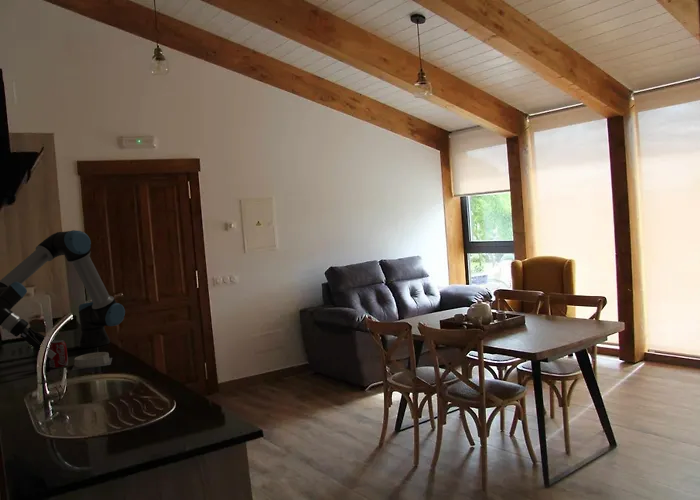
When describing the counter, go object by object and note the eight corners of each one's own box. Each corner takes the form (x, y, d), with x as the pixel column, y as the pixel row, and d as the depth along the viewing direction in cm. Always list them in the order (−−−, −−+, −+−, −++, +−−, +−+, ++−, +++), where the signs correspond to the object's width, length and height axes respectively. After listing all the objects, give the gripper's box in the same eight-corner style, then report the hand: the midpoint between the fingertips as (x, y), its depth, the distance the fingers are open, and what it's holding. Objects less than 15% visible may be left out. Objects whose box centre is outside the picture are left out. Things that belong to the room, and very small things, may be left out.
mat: (75, 363, 282) (75, 363, 282) (112, 358, 287) (112, 357, 287) (71, 371, 266) (71, 370, 266) (110, 365, 271) (110, 364, 271)
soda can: (71, 364, 280) (68, 338, 279) (63, 368, 273) (60, 342, 272) (57, 365, 281) (54, 339, 280) (48, 369, 274) (45, 343, 273)
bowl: (77, 363, 281) (76, 355, 281) (109, 358, 285) (109, 350, 285) (74, 369, 268) (73, 361, 267) (108, 364, 272) (107, 356, 272)
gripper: (15, 327, 281) (54, 355, 287) (2, 336, 258) (45, 365, 263) (26, 314, 283) (65, 342, 288) (15, 321, 259) (58, 351, 265)
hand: (56, 353), depth 276 cm, fingers open, 13 cm apart
